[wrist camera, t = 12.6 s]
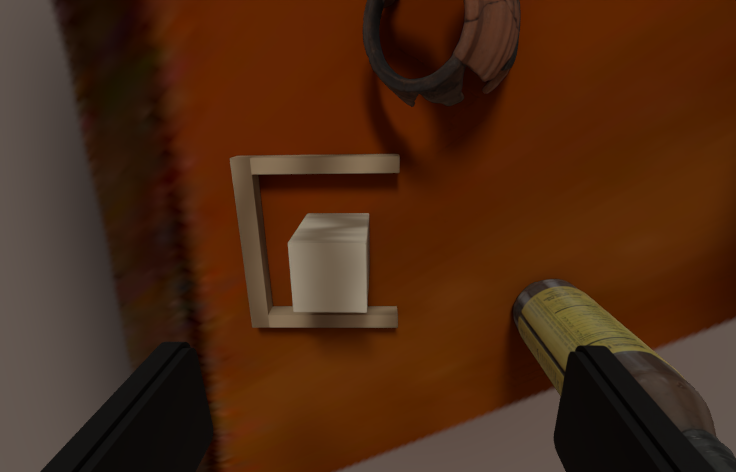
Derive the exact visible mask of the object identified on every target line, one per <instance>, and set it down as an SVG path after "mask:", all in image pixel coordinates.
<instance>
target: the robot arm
mask: <svg viewBox="0 0 736 472" xmlns="http://www.w3.org/2000/svg"><path fill="white" fill-rule="evenodd" d="M212 436H213V424H212V420H211V415H210V411H209V406H208V402H207V397H206V393H205V388H204V384H203V379H202V375H201V370H200V366H199V361H198V357H197V353H196V350H195V349H194V348H191V347H190V345H189V344H188V343H187V342H163V343H161V344H160V345H159V346H158V347H157V348H156V349H155V350H154V351H153V352H152V353H151V354H150V355H149V357H148V358H147V359H146V360H145V361H144V362H143V363H142V364H141V365H140V366H139V367H138V368H137V369H136V370H135V371H134V372H133V374H132V375H131V376H130V377H129V378H128V379H127V380H126V381H125V382H124V383H123V384H122V385H121V386H120V387H119V388H118V390H117V391H116V392H115V393H114V394H113V395H112V396H111V397H110V398H109V399H108V400H107V401H106V402H105V403H104V404H103V406H102V407H101V408H100V409H99V410H98V411H97V412H96V413H95V414H94V415H93V416H92V417H91V418H90V419H89V420H88V422H87V423H86V424H85V425H84V426H83V427H82V428H81V429H80V430H79V431H78V432H77V433H76V434H75V436H74V437H72V439H71V440H70V441H69V442H68V443H67V444H66V445H65V446H64V447H63V448H62V449H61V450H60V451H59V452H58V453H57V454H56V456H55V457H54V458H53V459H52V460H51V461H50V462H49V463H48V464H47V465H46V466H45V467H44V468H43V470H41V472H195V471H196V470H197V468H198V466H199V464H200V462H201V460H202V458H203V456H204V454H205V452H206V450H207V448H208V447H209V445H210V442H211V440H212ZM554 444H555V448H556V451H557V454H558V456H559V458H560V460H561V462H562V464H563V466H564V468H565V471H566V472H716V471H715V470H714V469H713V468H712V466H711V465H710V464H709V463H708V462H707V461H706V460H705V458H704V457H703V456H702V455H701V454H700V453H699V452H698V450H697V449H696V448H695V447H694V446H693V445H692V444H691V442H690V441H689V440H688V439H687V438H686V437H685V435H684V434H683V433H682V432H681V431H680V430H679V429H678V427H677V426H676V425H675V424H674V423H673V422H672V421H671V419H670V418H669V417H668V416H667V415H666V414H665V413H664V411H663V410H662V409H661V408H660V407H659V406H658V405H657V403H656V402H655V401H654V400H653V399H652V398H651V397H650V395H649V394H648V393H647V392H646V391H645V390H644V389H643V387H642V386H641V385H640V384H639V383H638V382H637V381H636V379H635V378H634V377H633V376H632V375H631V374H630V373H629V371H628V370H627V369H626V368H625V367H624V366H623V365H622V363H621V362H620V361H619V360H618V359H617V358H616V357H615V355H614V354H613V353H612V352H611V351H610V350H609V349H608V348H607V347H606V346H602V345H580V346H577V348H576V349H575V351H572V352H570V353H569V355H568V359H567V365H566V370H565V376H564V381H563V387H562V392H561V398H560V403H559V409H558V415H557V420H556V426H555V431H554Z"/></svg>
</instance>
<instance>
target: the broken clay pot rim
mask: <svg viewBox="0 0 736 472" xmlns="http://www.w3.org/2000/svg"><path fill="white" fill-rule="evenodd" d="M394 1H395V0H367V3H366V7H365V11H364V18H363V20H364V23H363V42H364V46H365V50H366V54H367V56H368V57H369V62H370V64H371V66H372V69H373V70H374V72H375V73H376V74H377V76H378V77H379V78H380V79H381V80H382V81H383V82H384V83H385V85H386V86H387V87H388V88H389V89H390V90H392V91H393V92H394V93H395V94H396V95H397V96H398V97H399V98H400V99H401V100H403V101H404V102H405V103H406V104H408V105H410V106H411V107H413V106H414V104H415V102H414V101H415V100H416V97H417V96H418V94H421V95H422V96H423V97H424V98H425V99H426V100H429V101H430V102H433V103H442V104H444V105H446V106H452V105H454V104H457V103H459V102H461V101H462V100H463V99H464V95H463V93H462V92H461V90H462V86H463V76H464V71H465V67H466V66H467V67H469V68H470V69H471V70H472V71H473V72H475V73H476V74H477V75H478V76H479V77H480V78H481V80H482V81H484V82H485V81H489V80H490V81H489V82H488V83H487V84H486V85H485V86H484V87H483V89H482V91H483V92H484V93H485V94H487V93H489V92H491V91H492V90H493V89H495V88H496V87H497V86H498V85H499V83H500V82H501V81H502V80H503V78H504V77H505V76H506V75H507V73H508V72H509V70H510V68H511V67H512V65H513V63H514V61H515V58H516V55H517V49H518V39H519V31H520V2H519V0H464V5H465V17H464V26H463V30H462V34H461V37H460V40H459V42H458V44H457V46H456V48H455V50H454V52H453V54H452V57H451V58H450V59H449V60H448V61H447V62H446V63H445V64H444V65H443V66H442V67H441V68H440V69H439V70H437V71H436V72H434V73H433V74H431V75H429V76H426V77H423V78H418V79H407V78H404V77H402V76H400V75H398V74H397V73H395V72H394V71H393V70H392V69H391V68H390V67H389V65H388V64H387V62H386V60H385V58H384V56H383V53H382V49H381V45H380V38H379V26H380V19H381V14H382V11H383V8H386V7H387V6H390V5H392V4H393V2H394Z"/></svg>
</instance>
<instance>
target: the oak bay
mask: <svg viewBox="0 0 736 472" xmlns="http://www.w3.org/2000/svg"><path fill="white" fill-rule="evenodd" d="M230 164H231V172H232V179H233V187H234V194H235V202H236V209H237V217H238V224H239V232H240V239H241V247H242V254H243V261H244V269H245V276H246V284H247V291H248V299H249V306H250V314H251V321H252V327H295V328H398V313H397V306H367V313H360V312H294V311H293V306H273V303H272V294H271V285H270V276H269V267H268V258H267V249H266V240H265V231H264V222H263V213H262V204H261V195H260V186H259V177H258V174H341V173H399V165H400V156H399V154H345V155H265V156H235V157H232V158H230Z"/></svg>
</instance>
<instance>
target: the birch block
mask: <svg viewBox="0 0 736 472" xmlns="http://www.w3.org/2000/svg"><path fill="white" fill-rule="evenodd" d="M288 250H289V262H290V275H291V287H292V299H293V311H294V312H360V313H367V303H368V286H369V213H308V214H307V215H306V217H305V218H304V220H303V221H302V223H301V224H300V226H299V227H298V229H297V230H296V232H295V233H294V235H293V236H292V238H291V239H290V241H289V242H288Z"/></svg>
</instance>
